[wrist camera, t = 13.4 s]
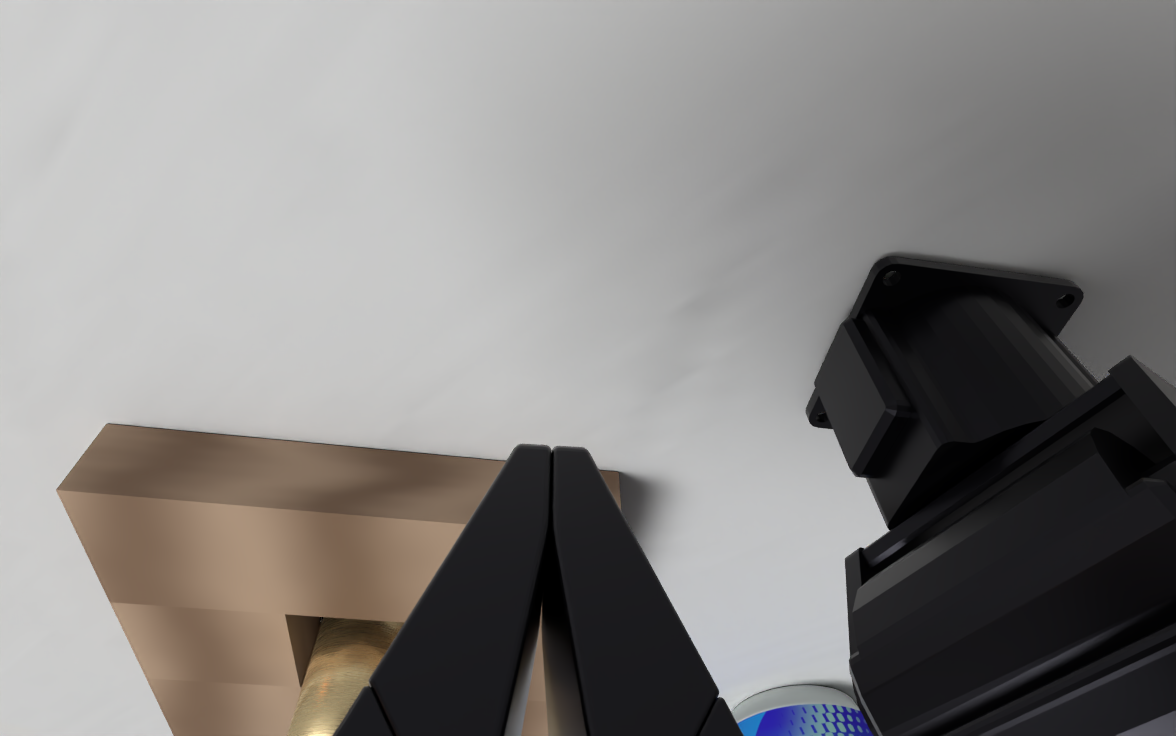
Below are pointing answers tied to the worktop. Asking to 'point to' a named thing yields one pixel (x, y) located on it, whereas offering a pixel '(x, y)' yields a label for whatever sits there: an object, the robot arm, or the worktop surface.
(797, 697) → the beer can
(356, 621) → the brass sleeve
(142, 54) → the worktop surface
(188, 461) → the walnut jig
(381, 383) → the worktop surface
